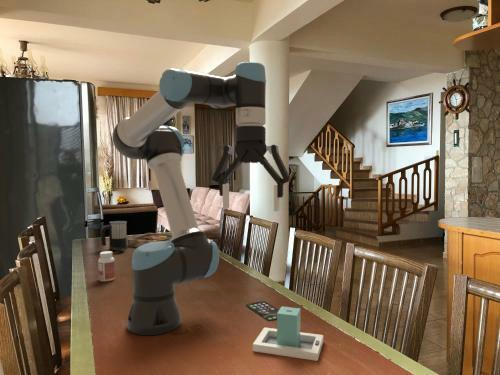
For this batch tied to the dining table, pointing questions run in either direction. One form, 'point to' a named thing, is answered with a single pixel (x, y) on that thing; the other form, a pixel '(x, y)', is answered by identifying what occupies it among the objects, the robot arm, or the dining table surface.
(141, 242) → the book tray
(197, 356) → the dining table surface
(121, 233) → the milk frother
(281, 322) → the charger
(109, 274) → the pill bottle
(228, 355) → the dining table surface
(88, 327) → the dining table surface
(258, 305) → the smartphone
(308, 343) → the white shallow tray
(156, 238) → the decorative book
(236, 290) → the dining table surface
